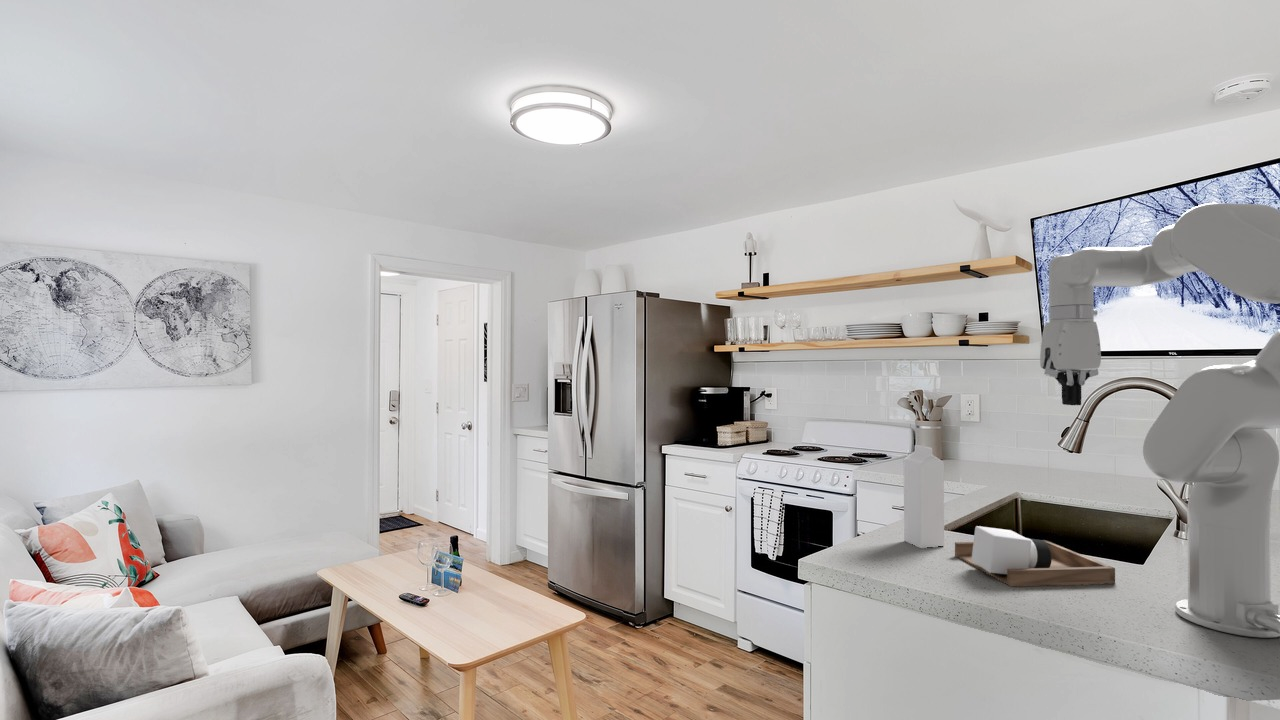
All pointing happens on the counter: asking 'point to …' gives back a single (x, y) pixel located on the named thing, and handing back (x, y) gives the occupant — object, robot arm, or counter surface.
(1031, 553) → the medicine bottle
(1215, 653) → the counter surface
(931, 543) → the milk
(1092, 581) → the walnut tray
